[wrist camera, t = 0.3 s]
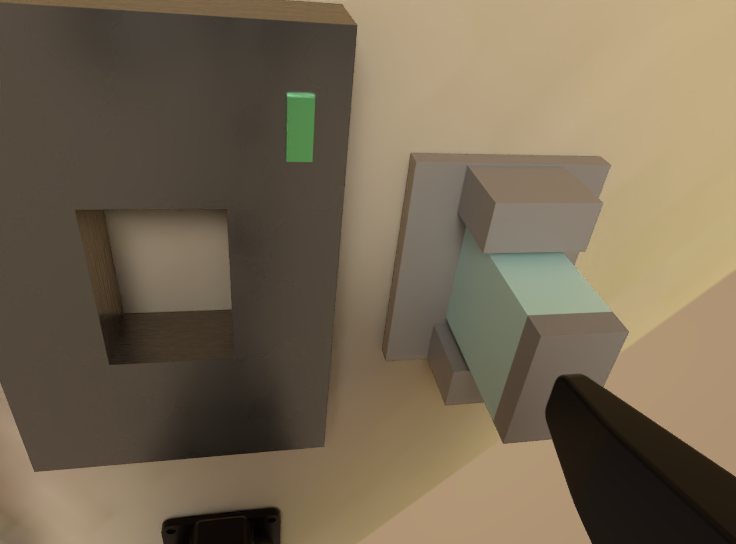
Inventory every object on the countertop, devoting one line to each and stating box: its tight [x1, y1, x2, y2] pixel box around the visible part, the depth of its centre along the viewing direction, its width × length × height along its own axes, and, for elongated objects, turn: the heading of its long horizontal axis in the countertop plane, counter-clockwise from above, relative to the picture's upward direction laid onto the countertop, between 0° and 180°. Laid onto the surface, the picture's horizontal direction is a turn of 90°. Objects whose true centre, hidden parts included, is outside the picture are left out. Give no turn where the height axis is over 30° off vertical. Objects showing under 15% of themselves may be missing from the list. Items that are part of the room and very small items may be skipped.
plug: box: [446, 227, 629, 444], centre depth 22 cm, size 5×3×7 cm, turn 175°
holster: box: [382, 153, 611, 405], centre depth 24 cm, size 10×8×4 cm
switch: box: [0, 0, 357, 472], centre depth 21 cm, size 18×12×3 cm, turn 175°
